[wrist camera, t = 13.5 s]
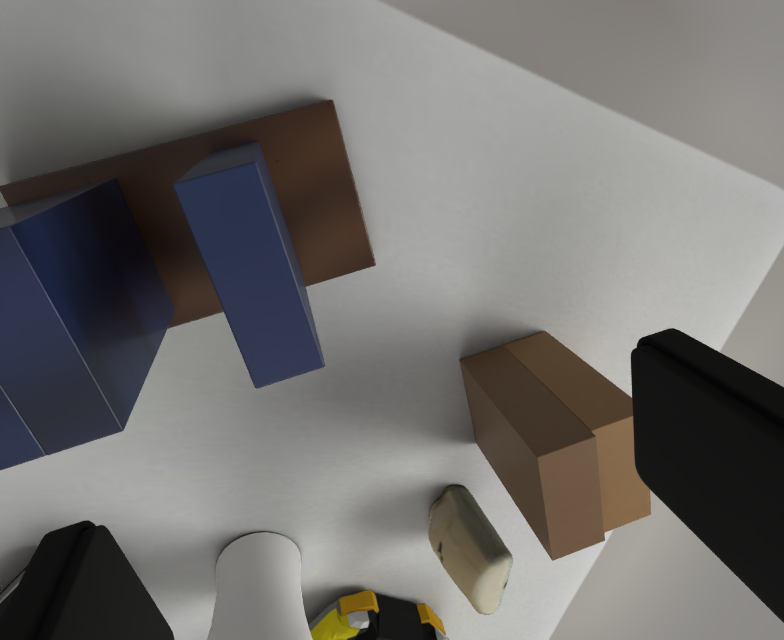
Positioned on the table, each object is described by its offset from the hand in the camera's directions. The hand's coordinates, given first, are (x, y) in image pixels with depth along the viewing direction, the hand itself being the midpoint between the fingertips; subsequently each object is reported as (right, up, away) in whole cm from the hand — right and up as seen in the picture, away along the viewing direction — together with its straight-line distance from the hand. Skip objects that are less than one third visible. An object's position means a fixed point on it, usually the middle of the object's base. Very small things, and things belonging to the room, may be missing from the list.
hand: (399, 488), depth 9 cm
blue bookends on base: (-11, +8, +22) cm, 26 cm away
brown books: (+9, -2, +31) cm, 33 cm away
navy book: (-8, +9, +21) cm, 24 cm away
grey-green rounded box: (+5, -13, +35) cm, 38 cm away
